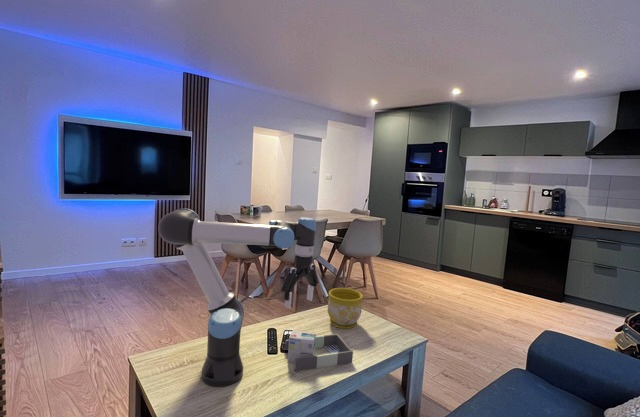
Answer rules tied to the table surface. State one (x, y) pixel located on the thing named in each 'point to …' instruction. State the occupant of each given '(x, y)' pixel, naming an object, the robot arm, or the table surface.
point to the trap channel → (325, 359)
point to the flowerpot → (344, 307)
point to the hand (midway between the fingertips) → (298, 303)
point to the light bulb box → (301, 345)
